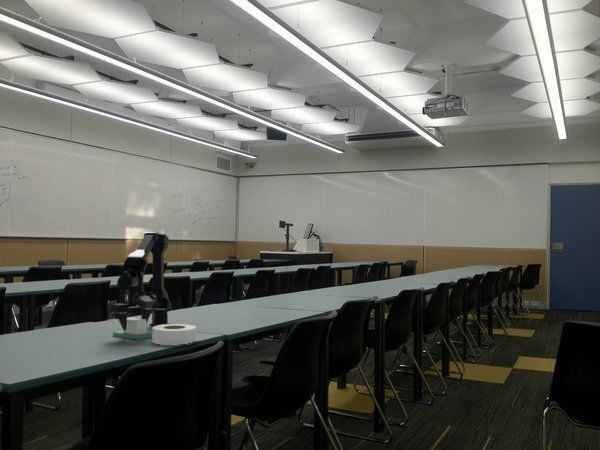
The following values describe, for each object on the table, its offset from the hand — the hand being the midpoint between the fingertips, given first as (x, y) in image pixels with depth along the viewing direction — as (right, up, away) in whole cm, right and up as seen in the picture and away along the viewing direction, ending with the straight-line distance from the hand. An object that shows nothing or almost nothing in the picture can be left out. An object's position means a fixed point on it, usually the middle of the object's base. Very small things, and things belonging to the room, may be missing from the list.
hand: (134, 328), depth 204 cm
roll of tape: (+17, -3, -9) cm, 20 cm away
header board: (0, -3, 0) cm, 3 cm away
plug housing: (0, -1, 0) cm, 1 cm away
